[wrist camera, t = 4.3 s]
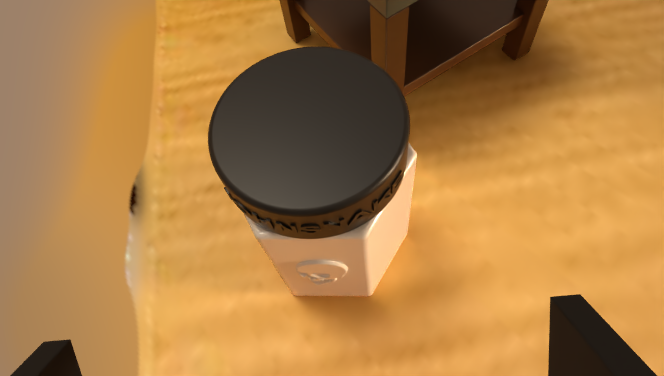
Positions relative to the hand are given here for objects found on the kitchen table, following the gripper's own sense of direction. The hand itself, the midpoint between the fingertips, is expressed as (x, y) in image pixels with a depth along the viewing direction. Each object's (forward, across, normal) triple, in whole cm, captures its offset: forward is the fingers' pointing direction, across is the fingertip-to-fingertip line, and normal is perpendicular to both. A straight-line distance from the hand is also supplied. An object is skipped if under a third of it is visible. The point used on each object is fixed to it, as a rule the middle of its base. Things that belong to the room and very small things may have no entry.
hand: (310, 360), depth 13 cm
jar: (+16, 0, -3) cm, 17 cm away
